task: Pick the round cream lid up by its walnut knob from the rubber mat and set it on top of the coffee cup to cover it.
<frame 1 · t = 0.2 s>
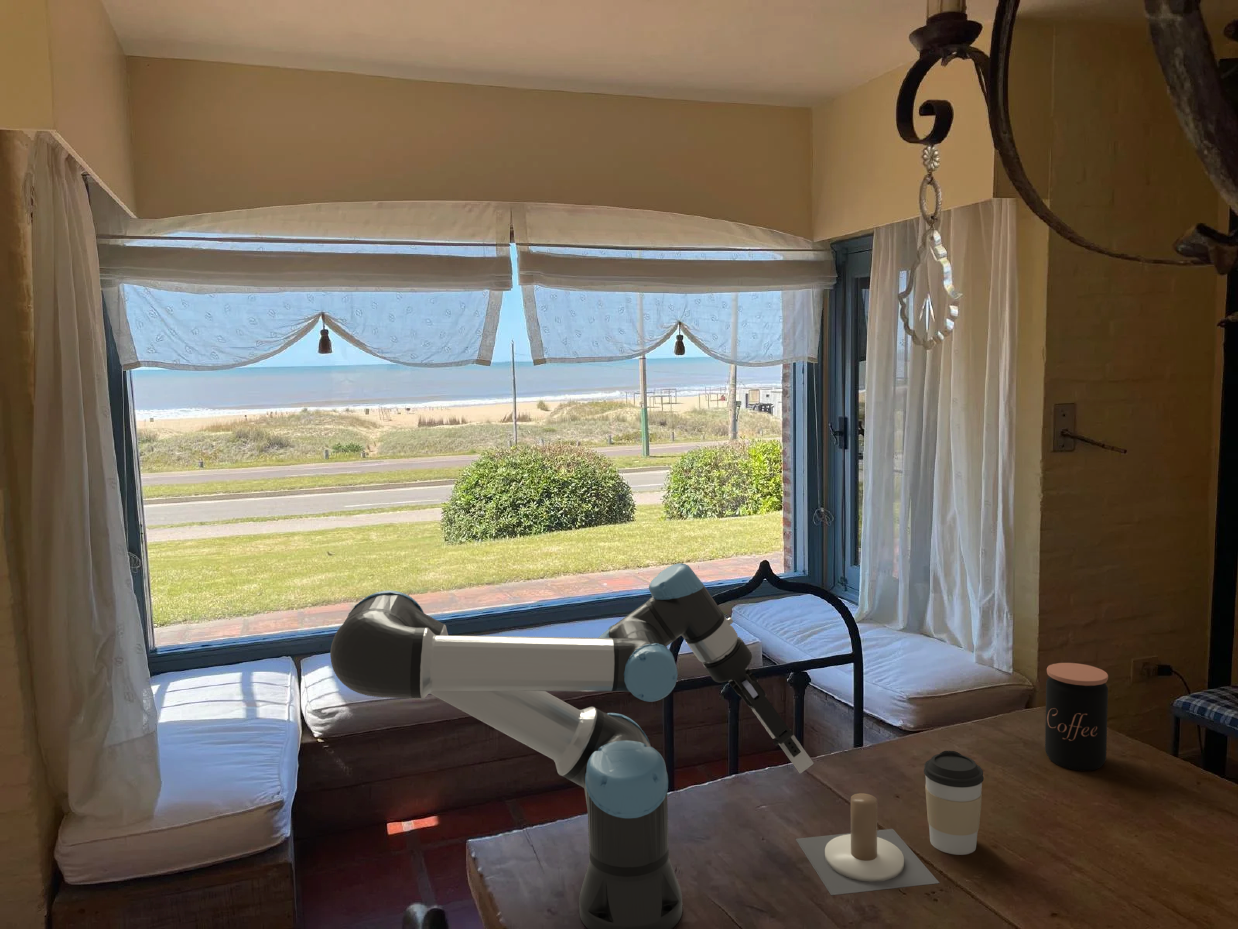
hand: (791, 750, 143), 16 cm above the table, tool tilted 35°, fingers open, 13 cm apart
coffee jar: (1074, 761, 172), on the table
mat: (863, 864, 138), on the table
lid: (863, 859, 138), point 1 cm above the table, touching mat
coffee cup: (952, 849, 142), on the table
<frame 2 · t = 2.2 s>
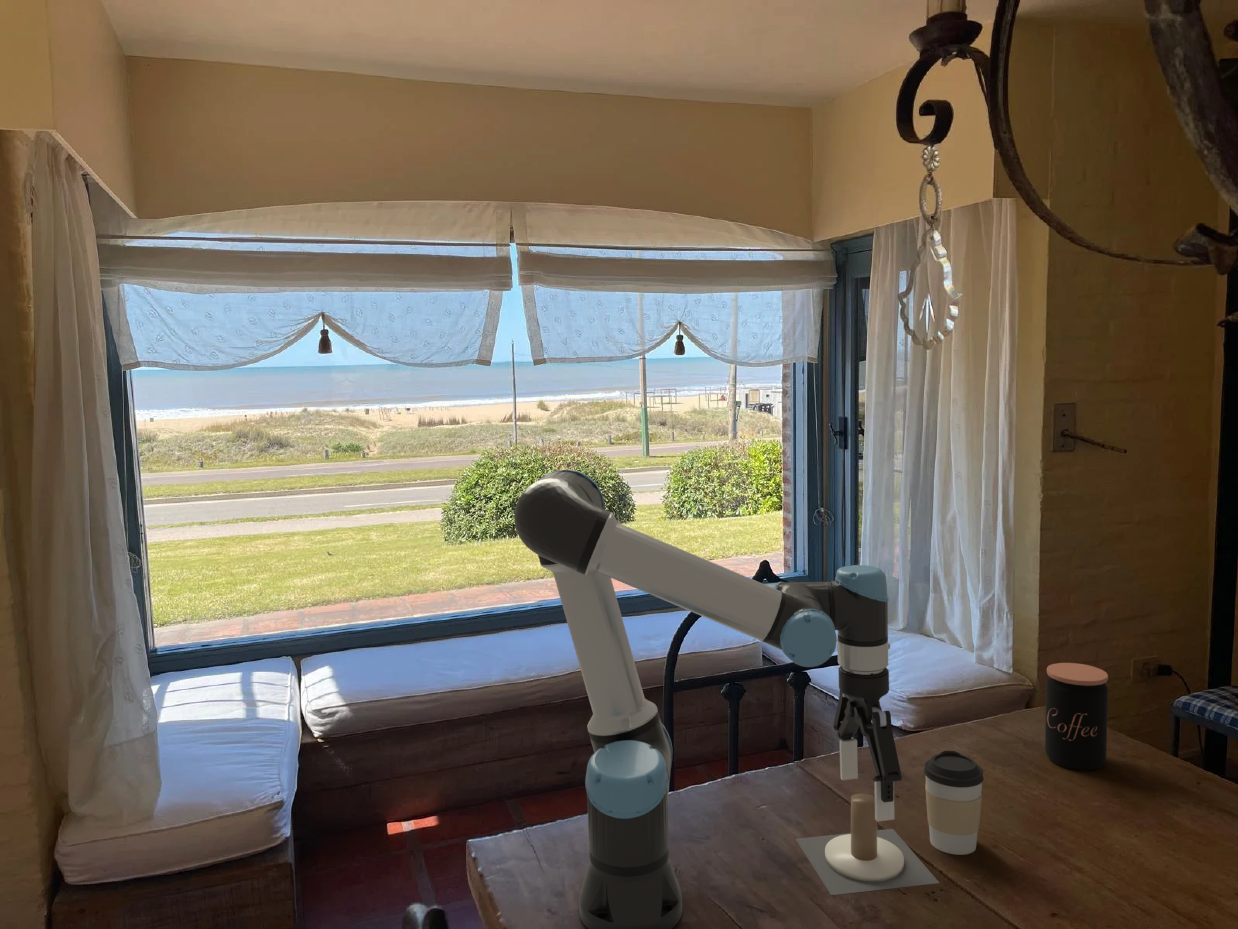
hand: (866, 798, 137), 11 cm above the table, tool pointing down, fingers open, 13 cm apart
nothing on the table moved.
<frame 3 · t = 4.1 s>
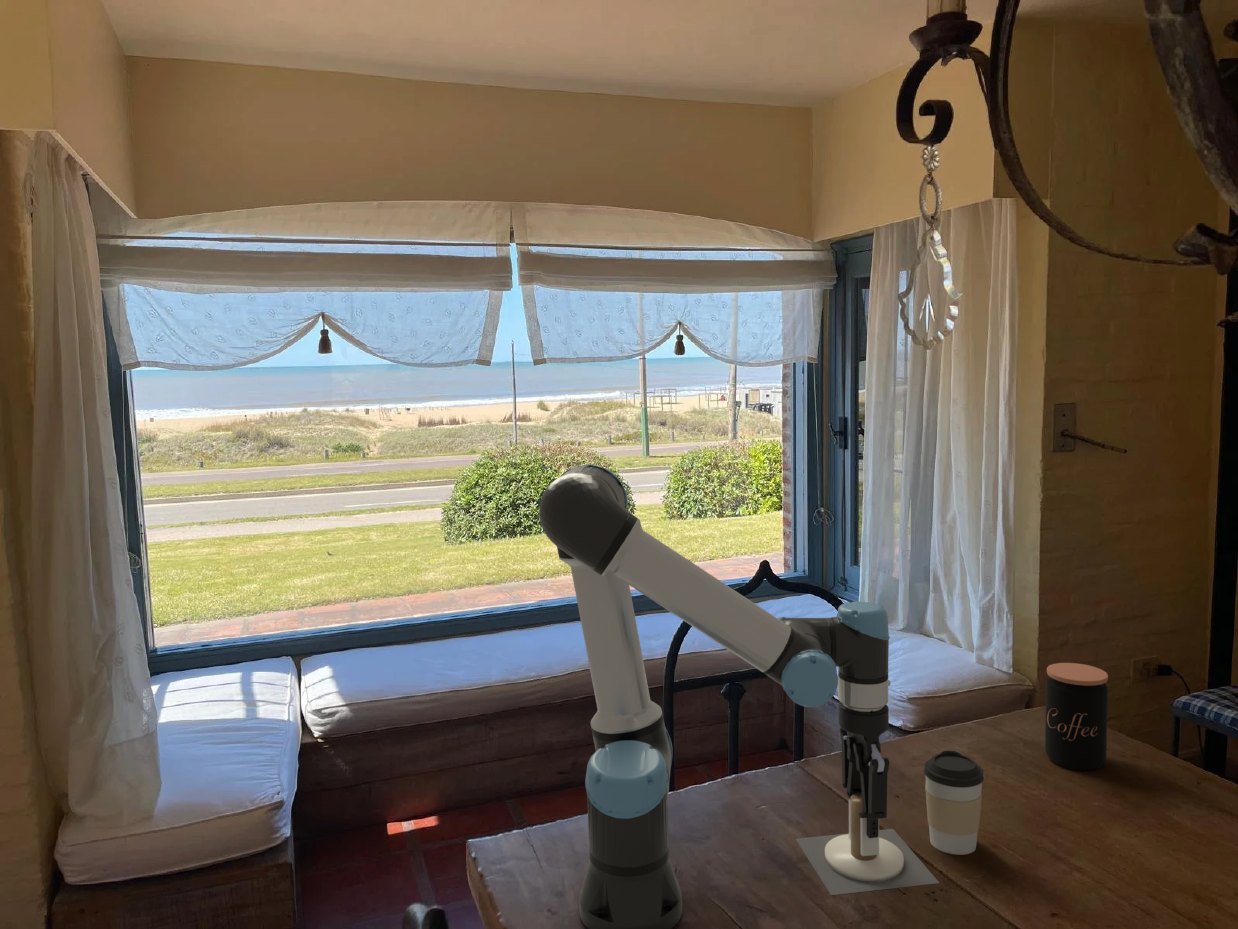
hand: (863, 846, 138), 3 cm above the table, tool pointing down, fingers closed on lid, 4 cm apart
lid: (863, 859, 138), point 1 cm above the table, touching gripper
everything else where it was.
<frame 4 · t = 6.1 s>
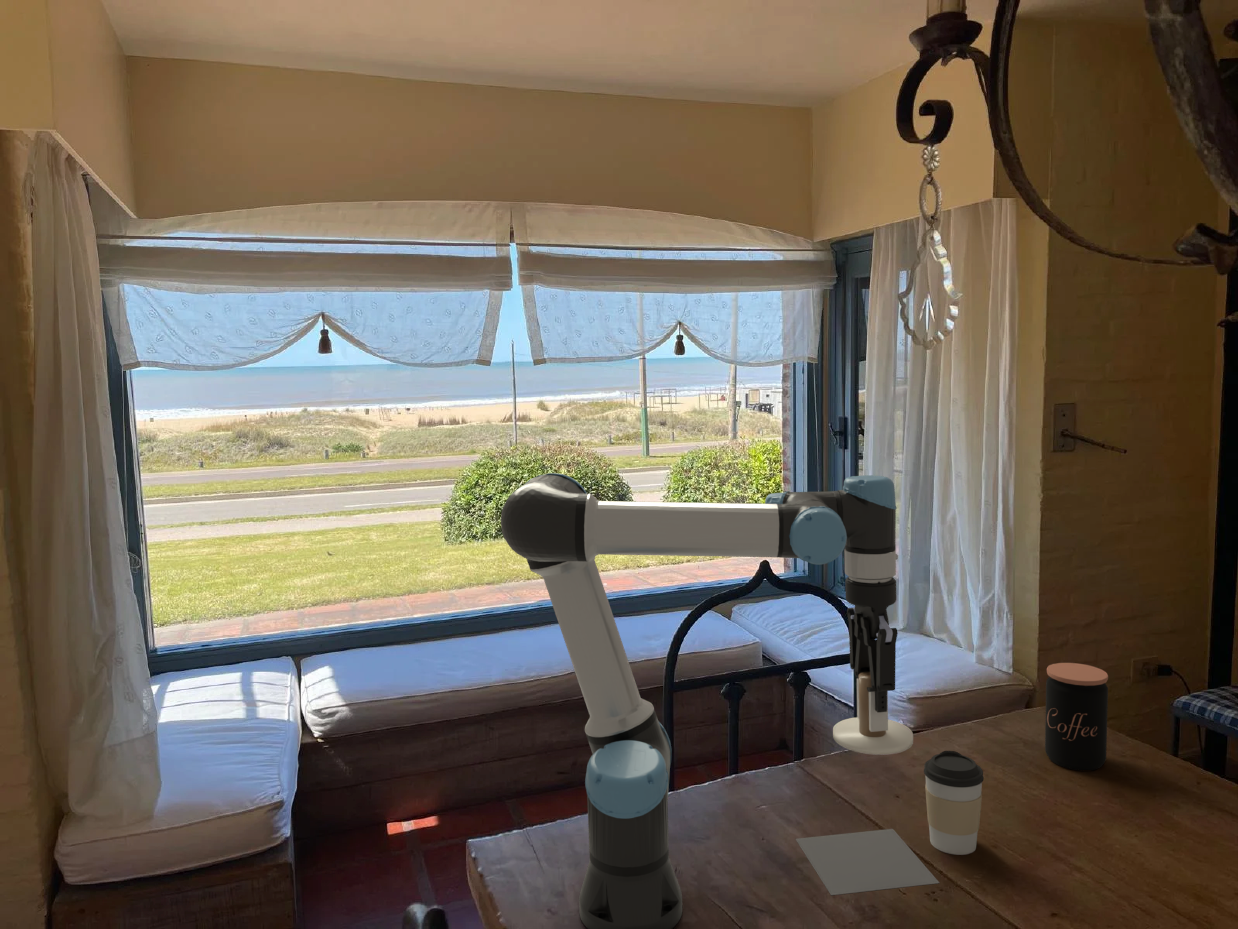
hand: (872, 724, 136), 23 cm above the table, tool pointing down, fingers closed on lid, 4 cm apart
lid: (872, 738, 136), point 21 cm above the table, touching gripper
everything else where it was.
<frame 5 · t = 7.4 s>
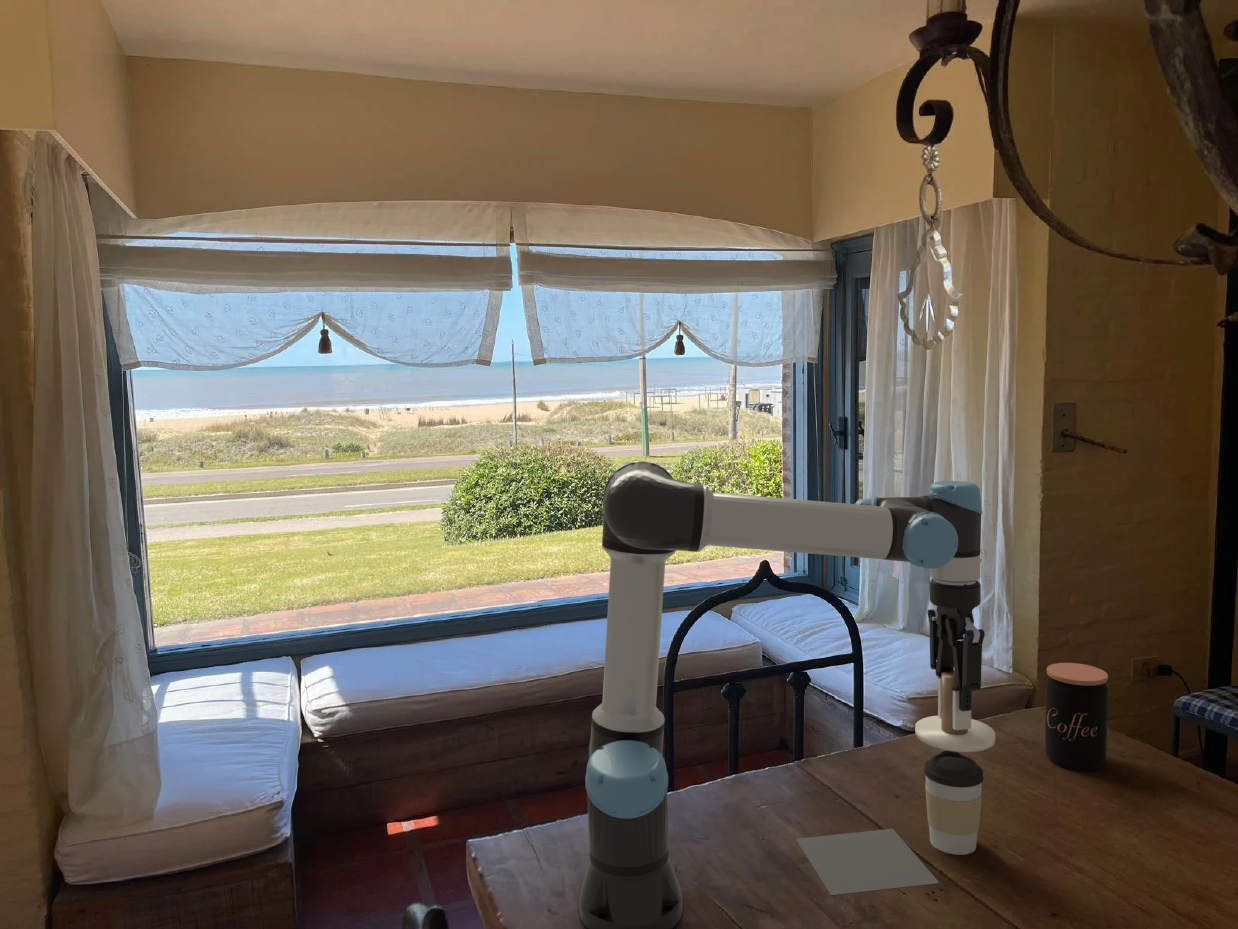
hand: (954, 722, 140), 21 cm above the table, tool pointing down, fingers closed on lid, 4 cm apart
lid: (954, 736, 140), point 19 cm above the table, touching gripper
everything else where it was.
when the fingers open (19 cm above the table, at t = 8.4 s): lid drops 2 cm, resting on coffee cup.
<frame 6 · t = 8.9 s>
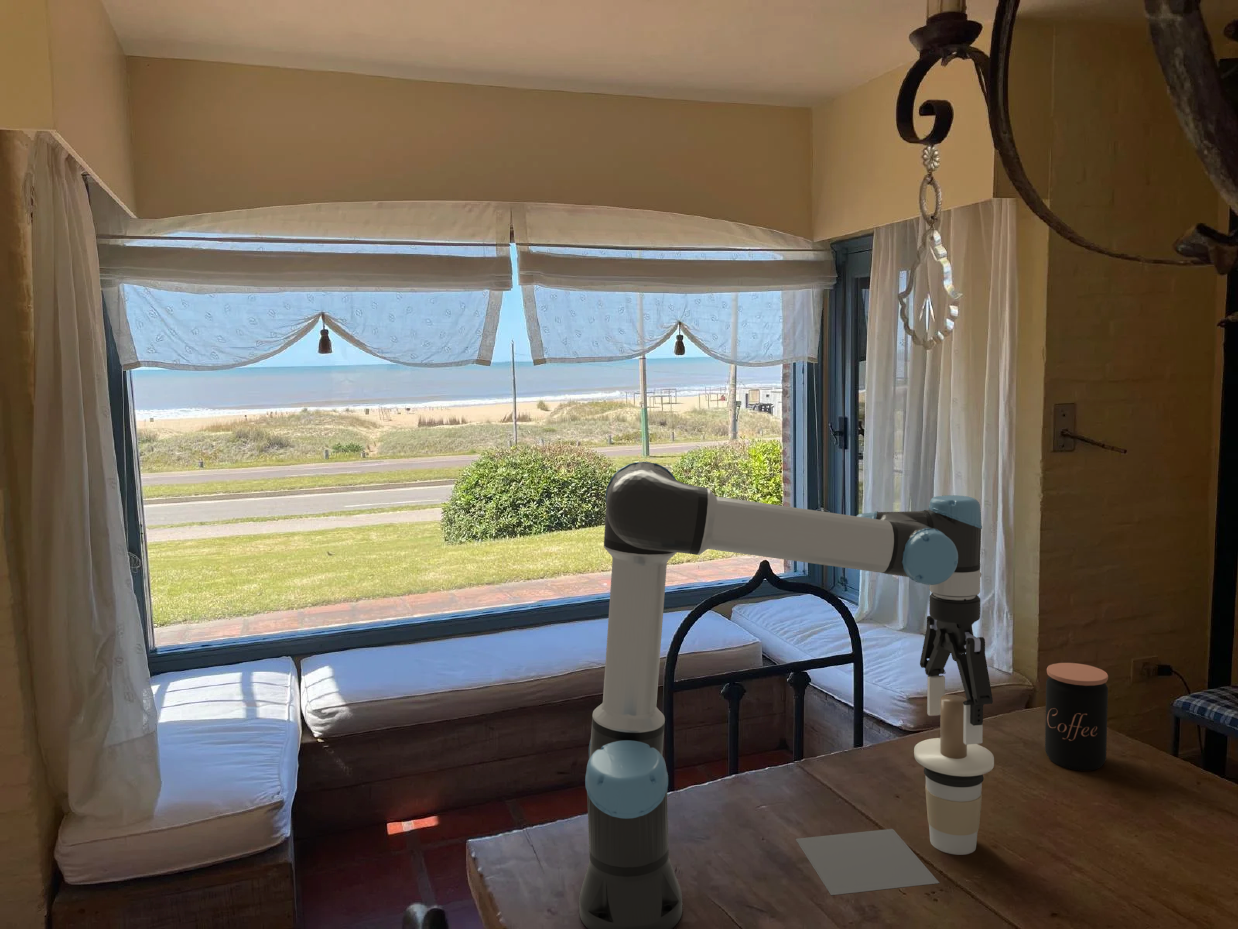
hand: (953, 728, 140), 20 cm above the table, tool pointing down, fingers open, 11 cm apart
lid: (953, 759, 141), point 15 cm above the table, touching coffee cup
coffee cup: (952, 849, 142), on the table, touching lid
everything else where it was.
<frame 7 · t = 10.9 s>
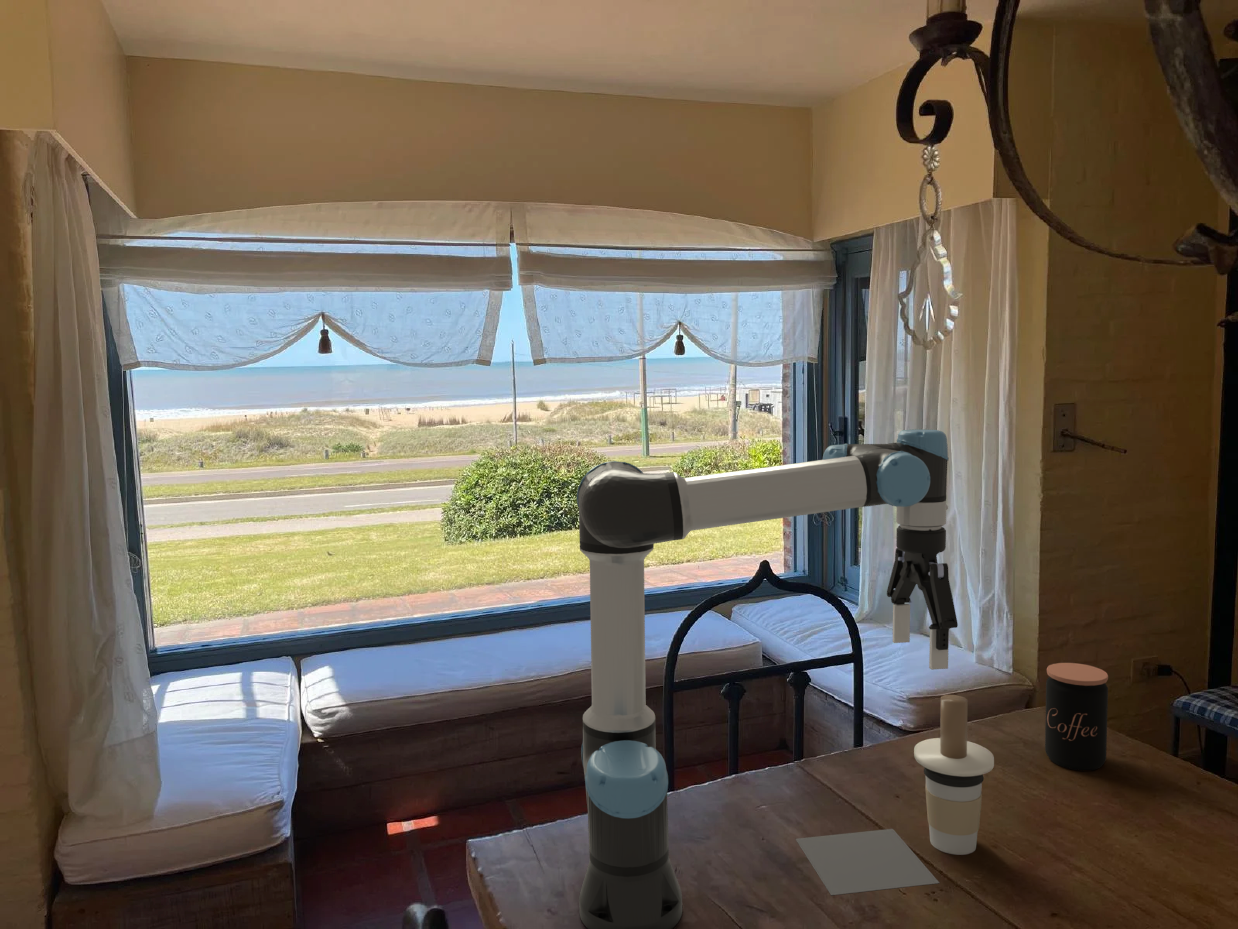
hand: (918, 654, 142), 31 cm above the table, tool pointing down, fingers open, 13 cm apart
nothing on the table moved.
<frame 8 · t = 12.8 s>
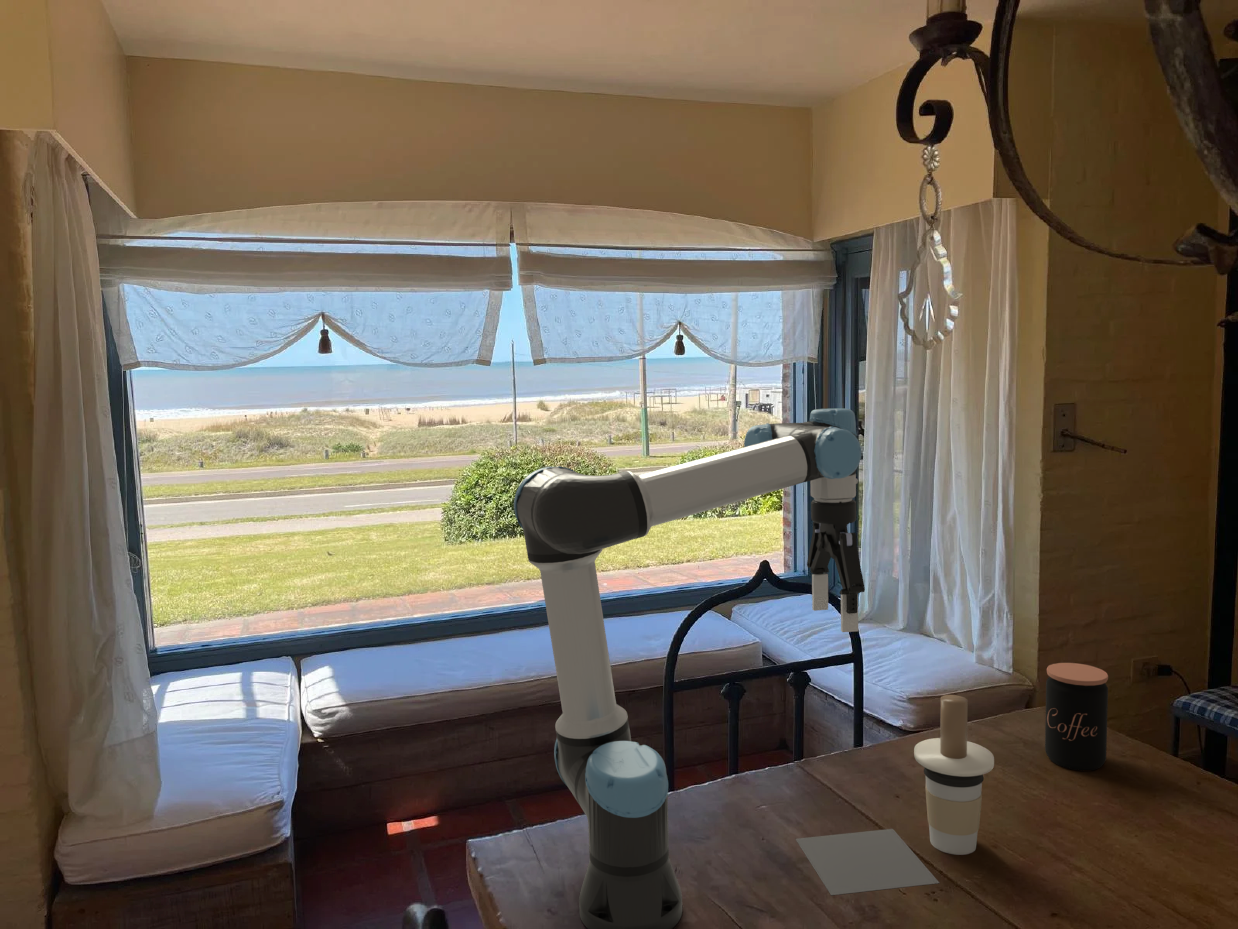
hand: (834, 620, 152), 35 cm above the table, tool pointing down, fingers open, 13 cm apart
nothing on the table moved.
at the end: lid 0.0 cm from the coffee cup (horizontally); lid point 15.0 cm above the table; coffee cup tilted 0° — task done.
